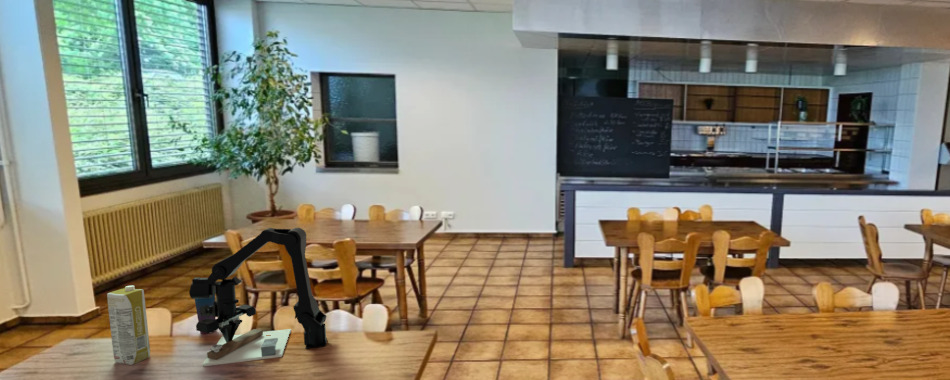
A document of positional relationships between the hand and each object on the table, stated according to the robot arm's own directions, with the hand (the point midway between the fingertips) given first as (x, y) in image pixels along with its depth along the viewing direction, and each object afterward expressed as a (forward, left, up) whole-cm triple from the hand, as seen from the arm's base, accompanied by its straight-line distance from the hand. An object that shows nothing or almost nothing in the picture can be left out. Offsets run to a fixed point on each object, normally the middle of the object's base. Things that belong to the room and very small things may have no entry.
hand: (228, 342), depth 165 cm
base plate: (-7, +1, -2) cm, 7 cm away
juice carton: (+29, 0, -2) cm, 29 cm away
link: (-3, +1, -1) cm, 3 cm away
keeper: (-14, +9, -2) cm, 17 cm away
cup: (+12, -19, -2) cm, 23 cm away
